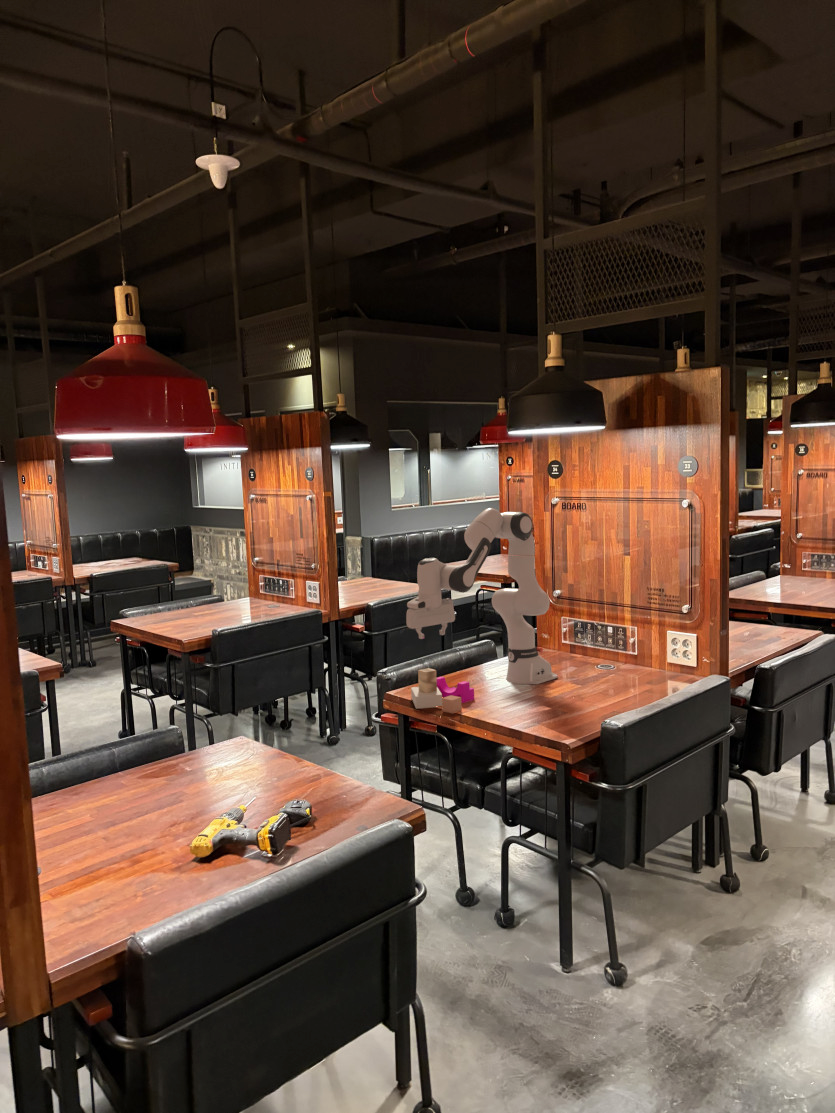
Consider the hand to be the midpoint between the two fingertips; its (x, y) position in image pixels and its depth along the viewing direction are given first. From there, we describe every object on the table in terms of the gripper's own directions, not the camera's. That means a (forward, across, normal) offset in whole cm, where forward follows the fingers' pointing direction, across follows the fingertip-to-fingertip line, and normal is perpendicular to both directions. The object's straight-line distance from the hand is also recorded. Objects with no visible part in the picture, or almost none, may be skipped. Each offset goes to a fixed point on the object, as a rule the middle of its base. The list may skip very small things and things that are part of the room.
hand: (432, 636), depth 305 cm
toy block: (+26, -8, +1) cm, 27 cm away
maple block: (+21, +3, 0) cm, 21 cm away
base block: (+26, +4, 0) cm, 26 cm away
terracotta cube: (+25, +2, +15) cm, 29 cm away
